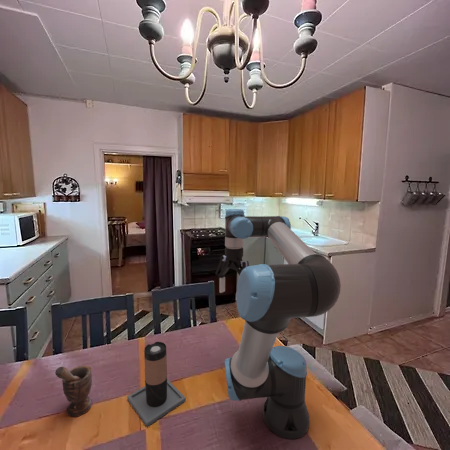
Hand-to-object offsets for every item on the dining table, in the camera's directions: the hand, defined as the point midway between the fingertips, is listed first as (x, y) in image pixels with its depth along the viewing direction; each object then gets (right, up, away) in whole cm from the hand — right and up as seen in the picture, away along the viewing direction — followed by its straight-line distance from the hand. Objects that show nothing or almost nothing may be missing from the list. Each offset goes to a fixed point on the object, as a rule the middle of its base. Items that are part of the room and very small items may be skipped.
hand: (233, 296), depth 106 cm
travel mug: (-28, -33, -14) cm, 46 cm away
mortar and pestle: (-54, -34, -20) cm, 67 cm away
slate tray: (-28, -34, -14) cm, 46 cm away
